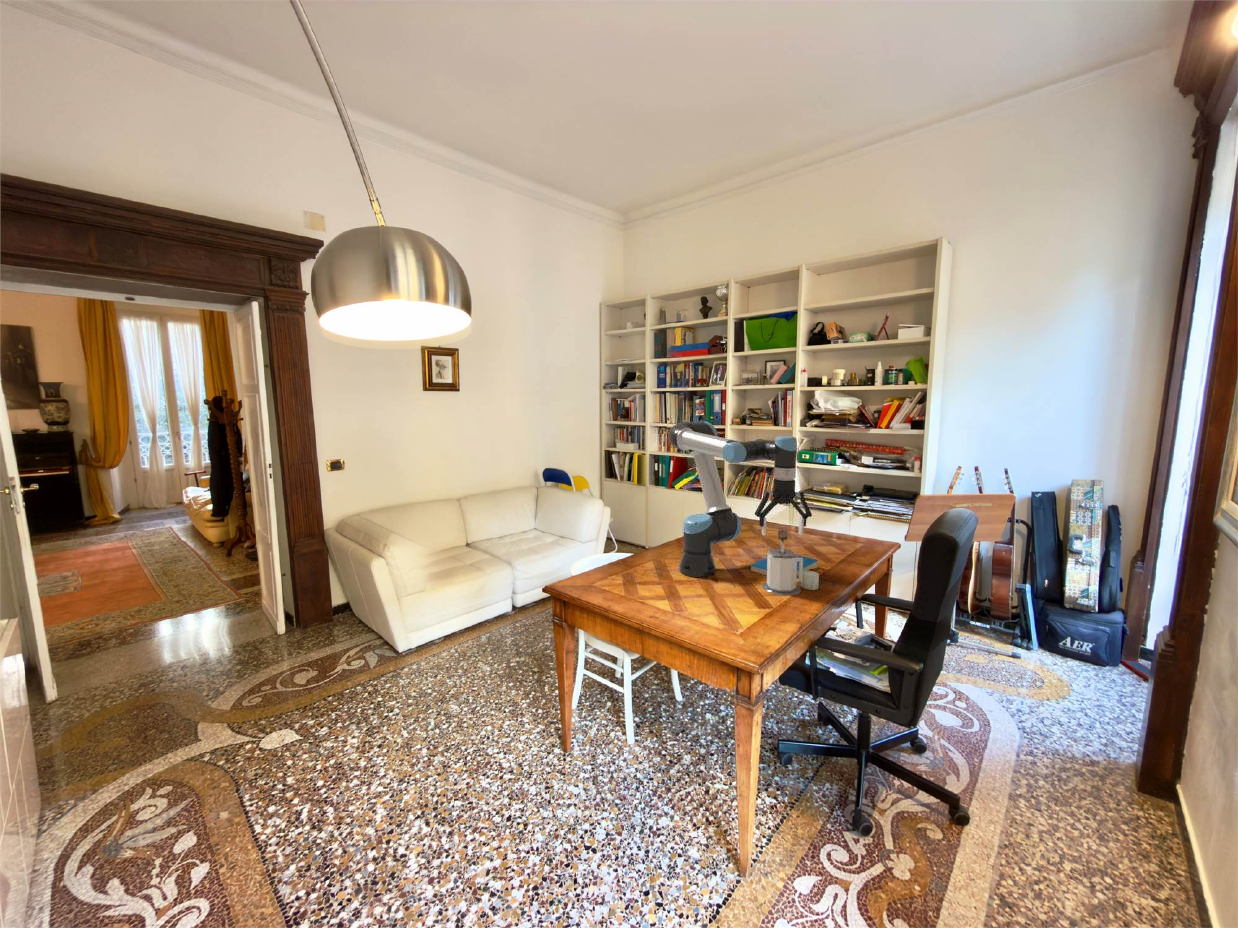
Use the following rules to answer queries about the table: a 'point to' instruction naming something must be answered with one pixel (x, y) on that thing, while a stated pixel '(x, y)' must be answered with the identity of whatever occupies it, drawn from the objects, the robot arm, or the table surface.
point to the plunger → (782, 538)
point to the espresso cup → (810, 580)
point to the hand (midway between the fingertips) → (782, 534)
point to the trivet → (781, 593)
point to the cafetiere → (783, 570)
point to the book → (807, 565)
